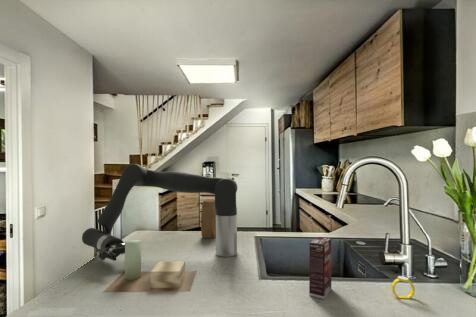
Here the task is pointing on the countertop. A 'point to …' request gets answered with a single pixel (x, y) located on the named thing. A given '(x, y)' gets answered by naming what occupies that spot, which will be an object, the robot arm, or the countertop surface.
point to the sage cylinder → (132, 259)
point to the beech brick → (168, 274)
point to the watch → (403, 279)
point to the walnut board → (147, 283)
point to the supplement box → (320, 267)
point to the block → (208, 219)
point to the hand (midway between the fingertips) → (127, 254)
